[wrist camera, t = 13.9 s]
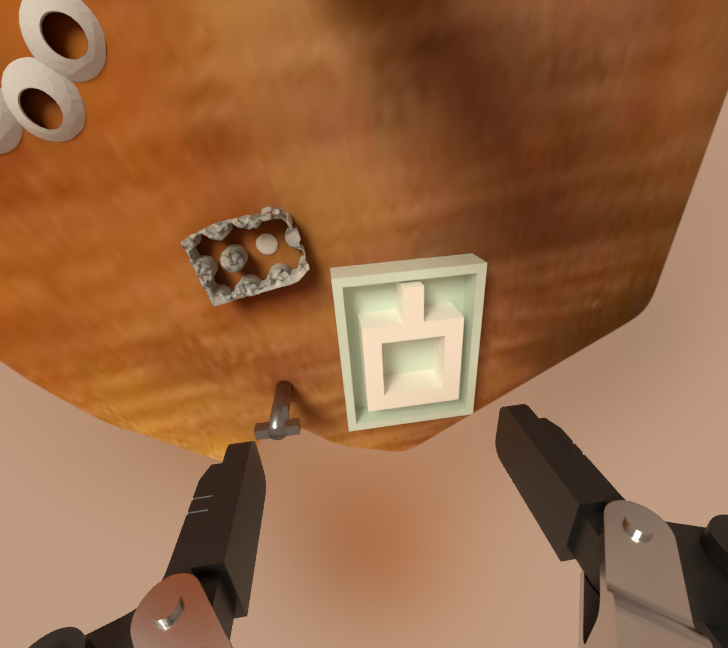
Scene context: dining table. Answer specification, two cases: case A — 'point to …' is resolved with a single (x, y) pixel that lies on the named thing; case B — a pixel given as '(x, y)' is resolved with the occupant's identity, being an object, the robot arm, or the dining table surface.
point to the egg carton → (244, 257)
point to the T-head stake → (279, 416)
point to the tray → (377, 293)
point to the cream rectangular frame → (410, 325)
